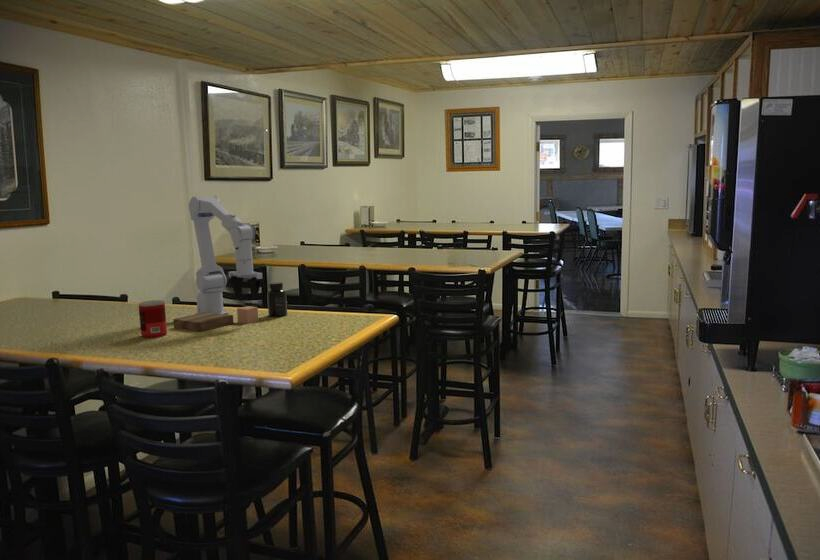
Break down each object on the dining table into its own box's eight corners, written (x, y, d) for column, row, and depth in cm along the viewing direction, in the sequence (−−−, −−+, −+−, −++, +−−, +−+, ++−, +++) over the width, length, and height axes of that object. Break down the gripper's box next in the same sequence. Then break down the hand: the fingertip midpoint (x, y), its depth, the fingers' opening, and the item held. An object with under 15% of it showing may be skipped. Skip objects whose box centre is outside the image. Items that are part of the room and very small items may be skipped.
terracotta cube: (237, 322, 238) (237, 308, 237) (248, 319, 242) (247, 306, 241) (248, 323, 235) (247, 309, 234) (258, 321, 239) (257, 307, 238)
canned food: (172, 333, 222) (169, 300, 221) (155, 338, 215) (152, 304, 213) (153, 332, 225) (150, 299, 223) (136, 337, 217) (133, 304, 216)
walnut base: (173, 327, 231) (173, 319, 230) (206, 320, 243) (205, 312, 242) (201, 331, 224) (201, 322, 223) (233, 323, 235) (233, 315, 235)
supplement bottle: (289, 313, 251) (287, 281, 249) (284, 317, 244) (282, 284, 243) (271, 313, 252) (269, 281, 250) (266, 317, 245) (264, 284, 243)
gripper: (220, 260, 236) (223, 298, 238) (250, 261, 228) (253, 301, 230) (236, 258, 242) (238, 295, 244) (265, 259, 234) (268, 298, 236)
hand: (246, 298), depth 237 cm, fingers open, 7 cm apart
